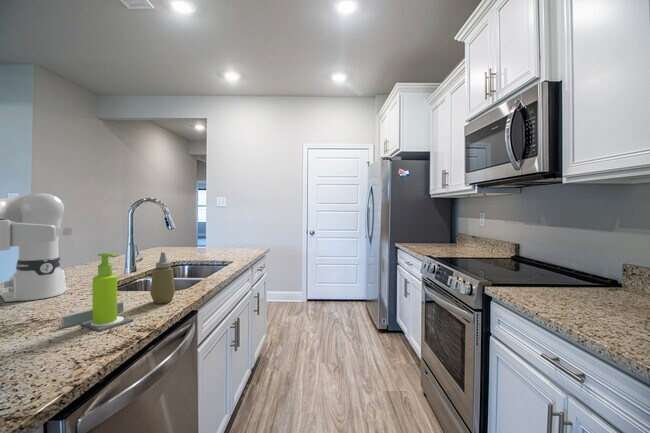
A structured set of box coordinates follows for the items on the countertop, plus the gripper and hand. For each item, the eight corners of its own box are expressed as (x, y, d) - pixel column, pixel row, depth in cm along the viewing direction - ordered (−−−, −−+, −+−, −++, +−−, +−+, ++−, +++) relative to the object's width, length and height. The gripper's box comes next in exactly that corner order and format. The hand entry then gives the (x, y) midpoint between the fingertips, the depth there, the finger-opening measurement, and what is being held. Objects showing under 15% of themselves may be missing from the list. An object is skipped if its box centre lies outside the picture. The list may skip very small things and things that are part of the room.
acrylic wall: (61, 327, 86) (61, 316, 86) (121, 310, 100) (121, 301, 100) (63, 327, 85) (63, 317, 85) (123, 311, 99) (123, 302, 99)
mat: (80, 324, 88) (80, 322, 88) (114, 315, 96) (114, 313, 96) (99, 331, 83) (99, 329, 83) (133, 321, 91) (133, 319, 91)
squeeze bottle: (176, 297, 116) (176, 250, 115) (174, 303, 108) (174, 253, 108) (152, 299, 113) (152, 251, 112) (148, 306, 105) (148, 254, 105)
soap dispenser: (107, 325, 86) (107, 255, 85) (87, 323, 87) (87, 254, 87) (124, 318, 92) (125, 252, 91) (105, 316, 93) (105, 251, 93)
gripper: (-33, 244, 71) (42, 240, 84) (2, 251, 62) (81, 244, 75) (-33, 218, 71) (42, 217, 84) (2, 220, 62) (81, 219, 74)
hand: (61, 230), depth 79 cm, fingers open, 8 cm apart
